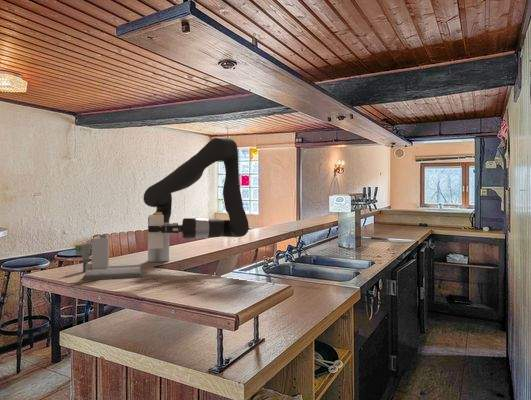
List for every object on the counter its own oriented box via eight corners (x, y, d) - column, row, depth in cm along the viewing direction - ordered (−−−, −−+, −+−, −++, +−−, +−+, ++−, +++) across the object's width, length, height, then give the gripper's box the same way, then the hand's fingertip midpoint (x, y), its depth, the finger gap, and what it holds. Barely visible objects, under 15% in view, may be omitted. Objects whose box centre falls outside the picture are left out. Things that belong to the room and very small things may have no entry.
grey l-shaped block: (88, 274, 135) (88, 234, 135) (141, 271, 140) (142, 233, 141) (83, 280, 124) (83, 236, 124) (141, 277, 129) (142, 235, 129)
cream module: (148, 247, 141) (149, 212, 141) (162, 247, 142) (163, 212, 143) (148, 248, 137) (149, 212, 137) (163, 248, 138) (163, 212, 139)
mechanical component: (96, 269, 147) (96, 243, 147) (81, 273, 137) (81, 245, 137) (89, 269, 147) (89, 243, 148) (73, 273, 137) (73, 245, 137)
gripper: (193, 217, 151) (148, 217, 146) (198, 218, 137) (148, 219, 132) (193, 236, 151) (147, 237, 146) (198, 239, 137) (148, 240, 132)
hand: (148, 228), depth 139 cm, fingers closed on cream module, 4 cm apart
